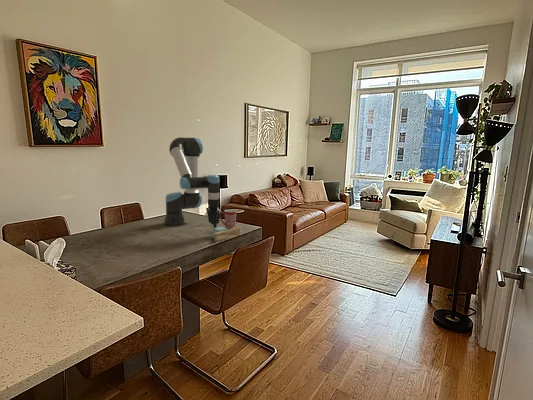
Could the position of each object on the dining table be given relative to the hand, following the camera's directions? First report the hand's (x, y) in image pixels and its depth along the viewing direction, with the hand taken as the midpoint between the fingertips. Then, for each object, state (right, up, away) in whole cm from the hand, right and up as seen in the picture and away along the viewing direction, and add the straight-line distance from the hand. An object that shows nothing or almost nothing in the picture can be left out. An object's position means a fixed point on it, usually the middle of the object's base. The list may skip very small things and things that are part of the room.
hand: (213, 233), depth 212 cm
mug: (+7, +1, +19) cm, 20 cm away
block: (+4, -2, -3) cm, 6 cm away
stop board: (+9, -2, -4) cm, 10 cm away
